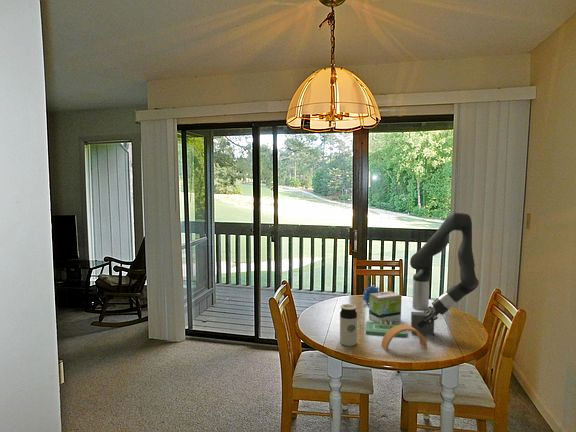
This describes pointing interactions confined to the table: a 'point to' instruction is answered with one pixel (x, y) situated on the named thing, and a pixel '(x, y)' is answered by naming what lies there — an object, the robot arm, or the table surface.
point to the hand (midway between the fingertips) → (418, 324)
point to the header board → (382, 328)
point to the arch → (398, 329)
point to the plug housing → (418, 318)
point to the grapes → (370, 292)
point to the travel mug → (348, 325)
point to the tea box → (385, 307)
